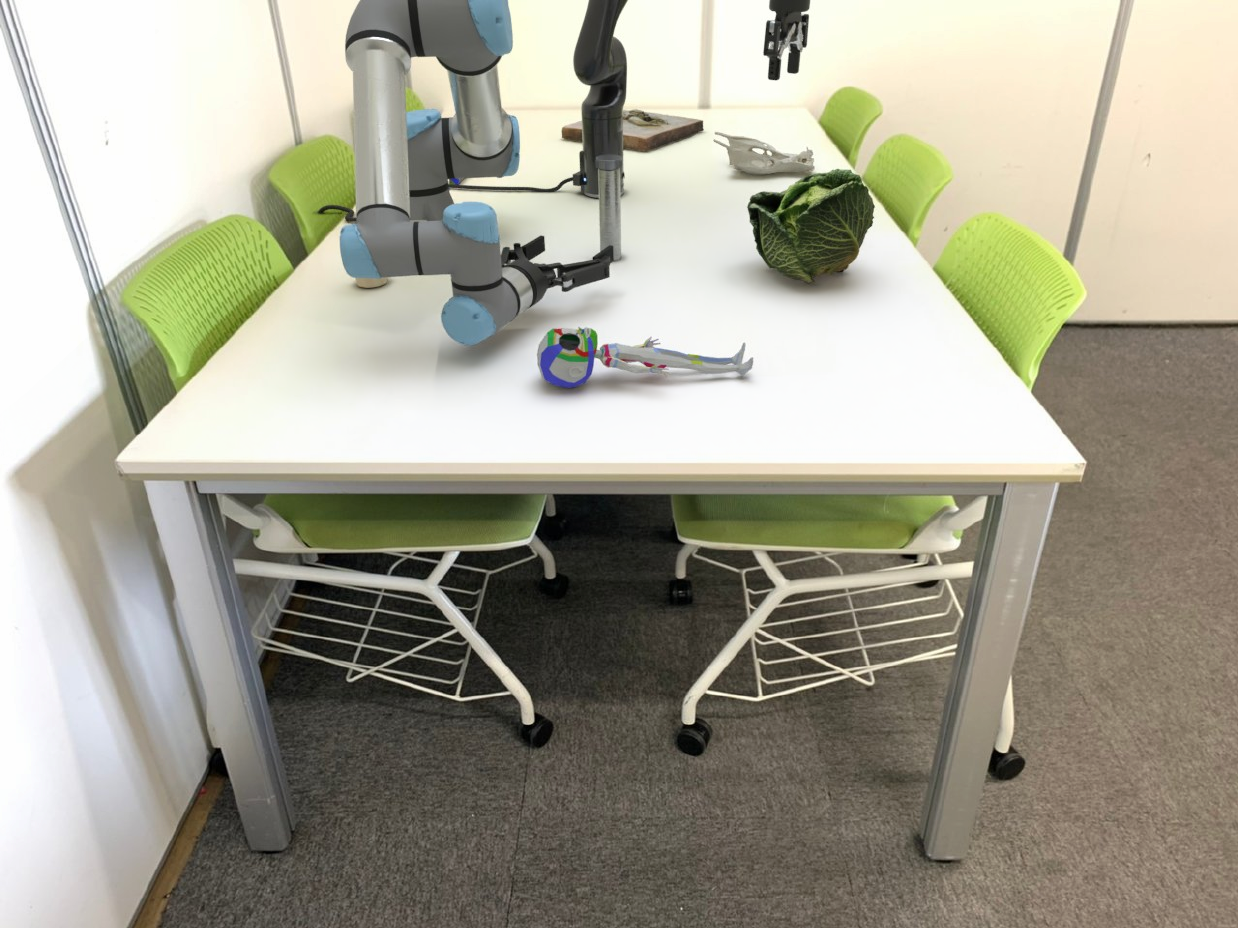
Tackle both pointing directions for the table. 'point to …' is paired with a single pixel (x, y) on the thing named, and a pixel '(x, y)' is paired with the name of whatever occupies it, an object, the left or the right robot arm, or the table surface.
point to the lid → (608, 162)
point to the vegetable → (812, 224)
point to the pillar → (455, 181)
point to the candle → (370, 282)
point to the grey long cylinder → (610, 210)
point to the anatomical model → (764, 157)
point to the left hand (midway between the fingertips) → (576, 248)
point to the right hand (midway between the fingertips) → (783, 76)
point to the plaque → (645, 129)
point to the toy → (618, 358)
